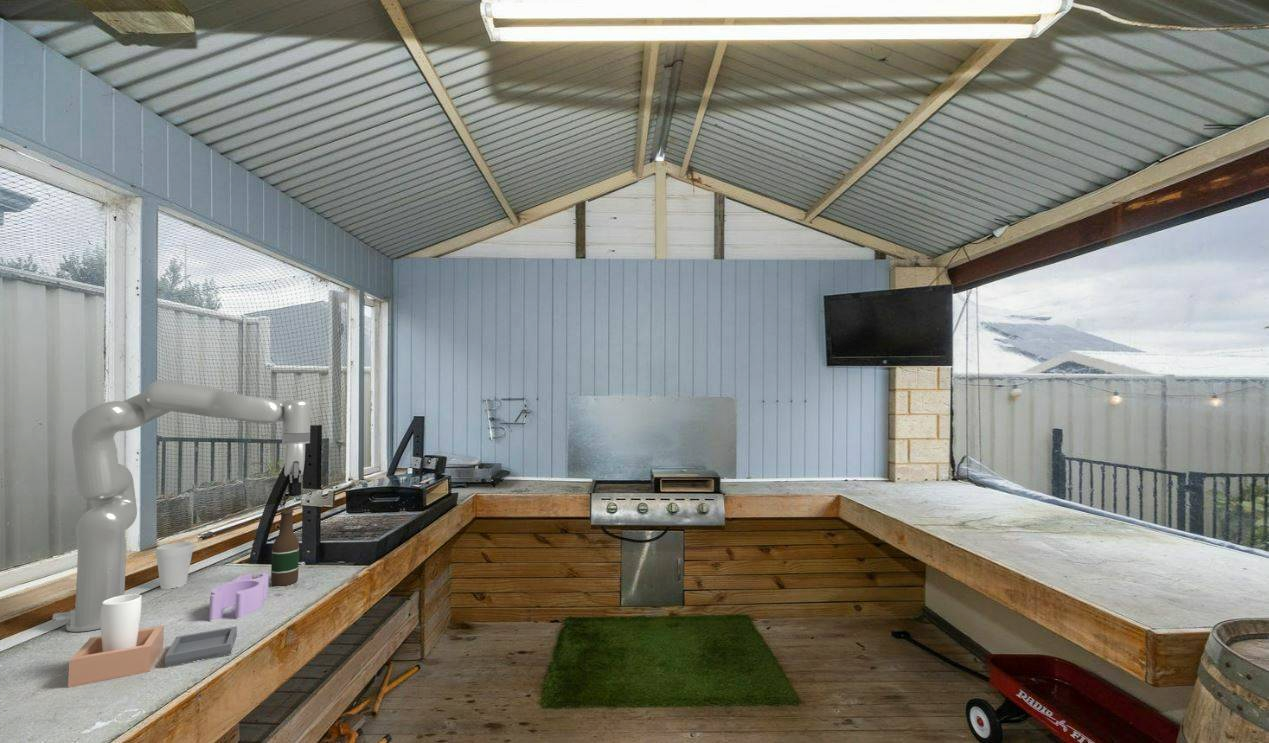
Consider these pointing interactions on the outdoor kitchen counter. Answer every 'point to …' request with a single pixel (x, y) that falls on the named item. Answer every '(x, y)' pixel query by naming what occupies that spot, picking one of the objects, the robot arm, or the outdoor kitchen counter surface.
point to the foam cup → (174, 563)
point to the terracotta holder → (115, 658)
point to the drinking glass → (120, 622)
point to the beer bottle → (285, 553)
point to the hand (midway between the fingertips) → (294, 493)
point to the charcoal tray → (201, 646)
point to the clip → (239, 596)
